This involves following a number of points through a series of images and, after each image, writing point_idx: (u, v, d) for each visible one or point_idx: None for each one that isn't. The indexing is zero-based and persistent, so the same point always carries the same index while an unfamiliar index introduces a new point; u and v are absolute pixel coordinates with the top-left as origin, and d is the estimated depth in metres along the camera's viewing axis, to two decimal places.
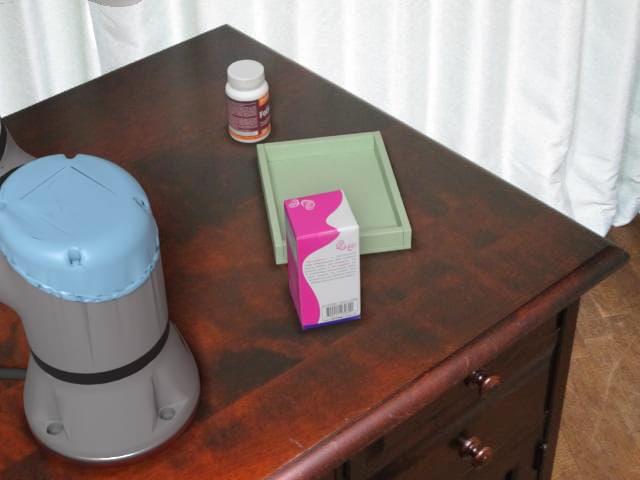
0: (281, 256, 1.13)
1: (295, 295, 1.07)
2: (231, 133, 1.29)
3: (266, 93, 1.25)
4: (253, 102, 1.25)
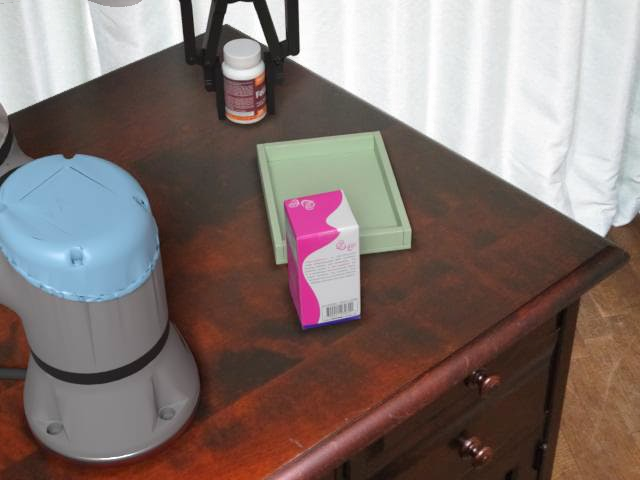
0: (281, 256, 1.13)
1: (295, 295, 1.07)
2: (226, 114, 1.26)
3: (262, 72, 1.23)
4: (249, 81, 1.22)
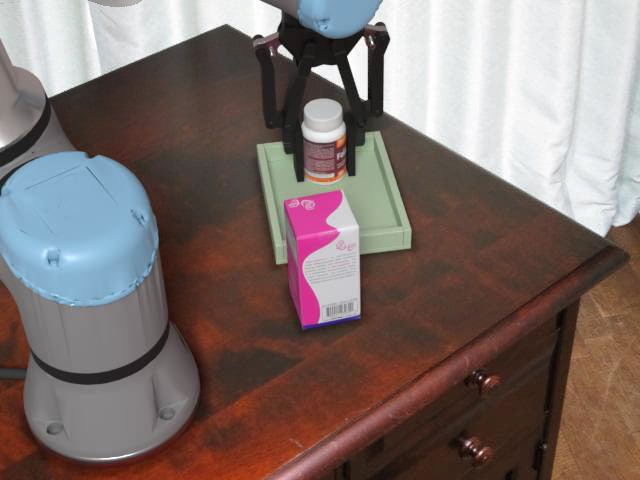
0: (281, 256, 1.13)
1: (295, 295, 1.07)
2: (305, 175, 1.22)
3: (344, 134, 1.19)
4: (331, 144, 1.18)
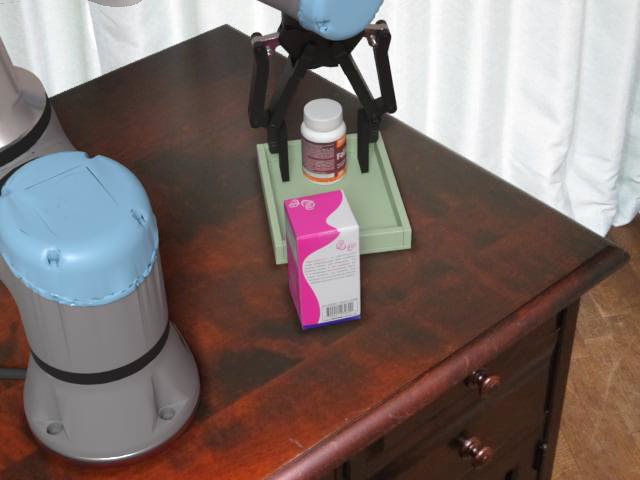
0: (281, 256, 1.13)
1: (295, 295, 1.07)
2: (305, 175, 1.22)
3: (344, 134, 1.19)
4: (331, 144, 1.18)
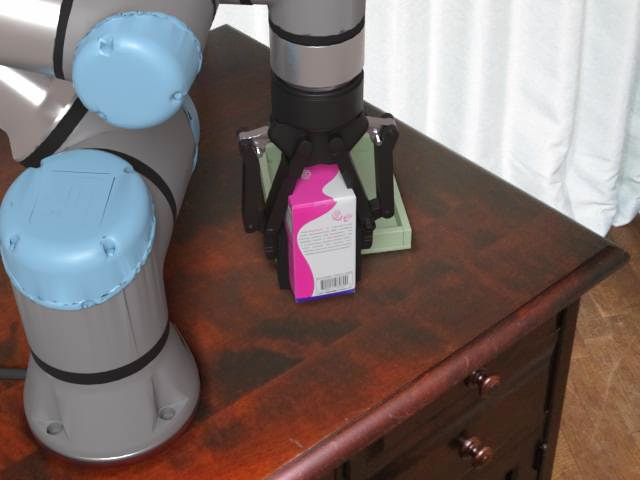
0: None
1: (289, 267, 1.05)
2: None
3: None
4: None
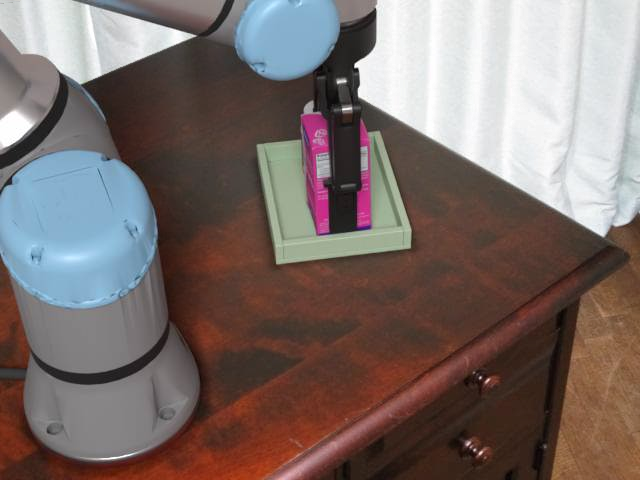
0: (281, 256, 1.13)
1: None
2: None
3: None
4: None
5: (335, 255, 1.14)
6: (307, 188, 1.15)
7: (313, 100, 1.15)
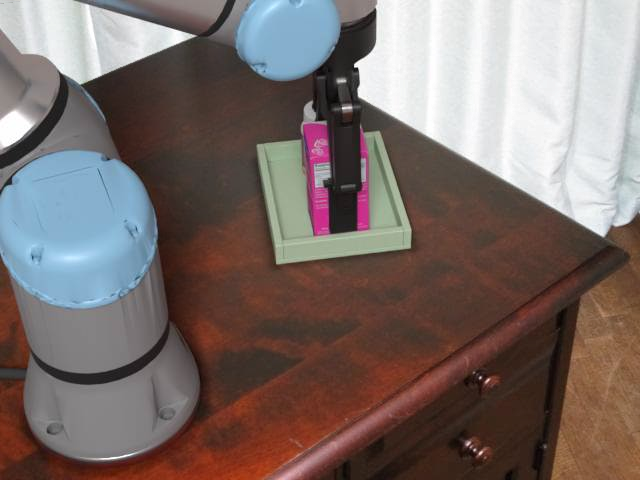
0: (281, 256, 1.13)
1: None
2: None
3: None
4: None
5: (335, 255, 1.14)
6: (307, 196, 1.16)
7: None
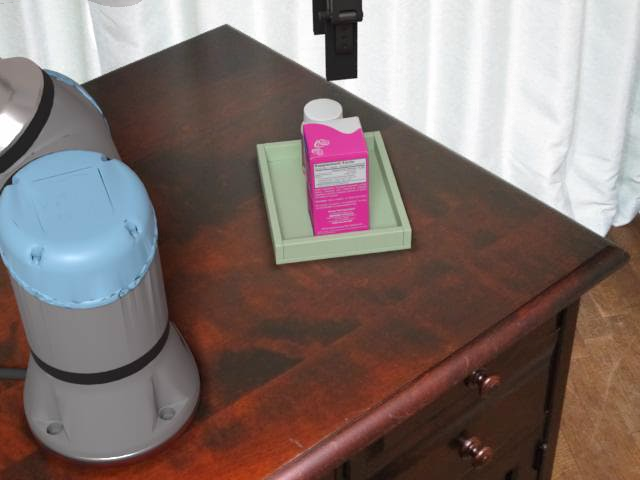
0: (281, 256, 1.13)
1: (347, 225, 1.13)
2: None
3: None
4: None
5: (335, 255, 1.14)
6: (307, 196, 1.16)
7: None
